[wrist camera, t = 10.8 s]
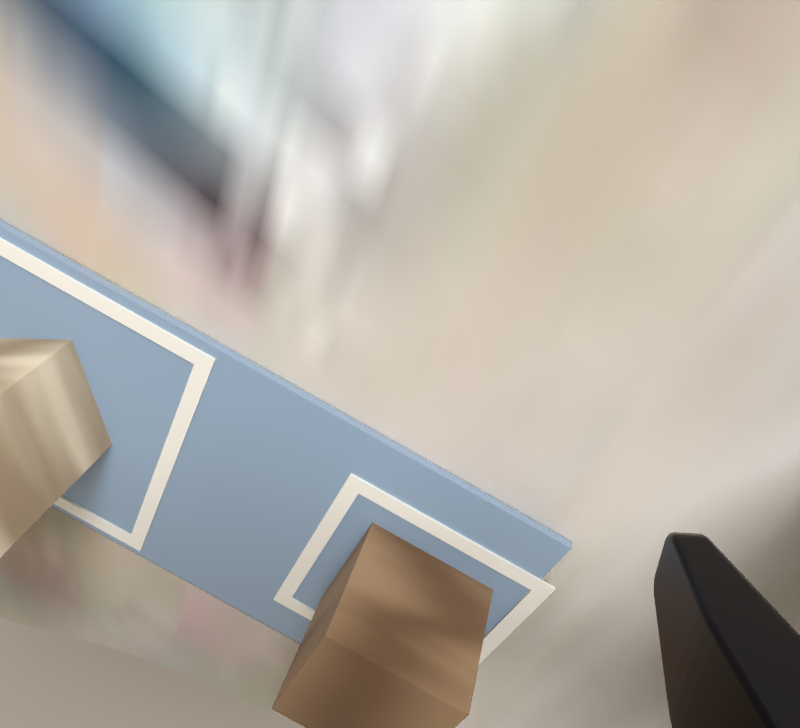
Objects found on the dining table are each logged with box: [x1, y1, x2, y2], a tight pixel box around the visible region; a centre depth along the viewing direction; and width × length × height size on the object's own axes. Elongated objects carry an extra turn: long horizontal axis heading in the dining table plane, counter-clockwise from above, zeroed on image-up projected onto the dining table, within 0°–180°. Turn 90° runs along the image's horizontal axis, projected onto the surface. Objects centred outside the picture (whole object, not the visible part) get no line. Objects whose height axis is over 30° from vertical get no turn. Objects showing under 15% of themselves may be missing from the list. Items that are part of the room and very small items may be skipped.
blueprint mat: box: [0, 220, 572, 664], centre depth 27 cm, size 26×12×1 cm, turn 63°
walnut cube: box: [272, 523, 493, 728], centre depth 25 cm, size 5×5×5 cm
